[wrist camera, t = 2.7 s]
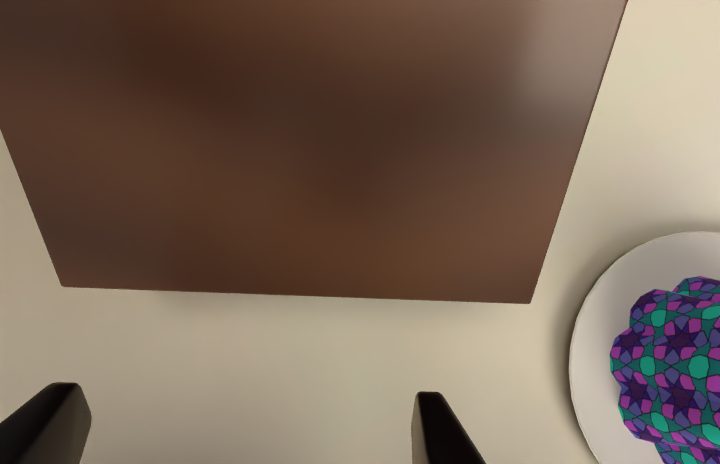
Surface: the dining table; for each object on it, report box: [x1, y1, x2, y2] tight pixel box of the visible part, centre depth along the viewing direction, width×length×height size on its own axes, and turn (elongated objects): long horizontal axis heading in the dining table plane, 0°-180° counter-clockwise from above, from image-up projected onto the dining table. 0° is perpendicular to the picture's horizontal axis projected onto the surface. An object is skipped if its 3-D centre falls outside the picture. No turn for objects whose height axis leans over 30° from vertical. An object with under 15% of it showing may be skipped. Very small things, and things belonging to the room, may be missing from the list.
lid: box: [0, 0, 628, 304], centre depth 12 cm, size 13×14×1 cm
